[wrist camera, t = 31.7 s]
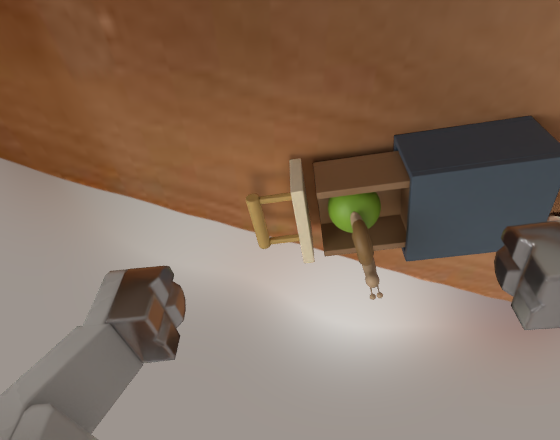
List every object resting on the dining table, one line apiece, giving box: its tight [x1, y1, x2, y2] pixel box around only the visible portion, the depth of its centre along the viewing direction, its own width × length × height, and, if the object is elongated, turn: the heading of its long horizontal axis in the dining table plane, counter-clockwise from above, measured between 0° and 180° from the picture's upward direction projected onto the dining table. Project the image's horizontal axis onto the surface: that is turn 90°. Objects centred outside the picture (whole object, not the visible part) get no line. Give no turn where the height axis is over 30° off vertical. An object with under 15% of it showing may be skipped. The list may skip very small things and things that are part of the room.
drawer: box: [246, 151, 410, 263], centre depth 42 cm, size 17×10×6 cm, turn 100°
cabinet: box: [394, 116, 560, 261], centre depth 40 cm, size 13×11×7 cm
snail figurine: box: [328, 192, 383, 300], centre depth 38 cm, size 5×6×12 cm
